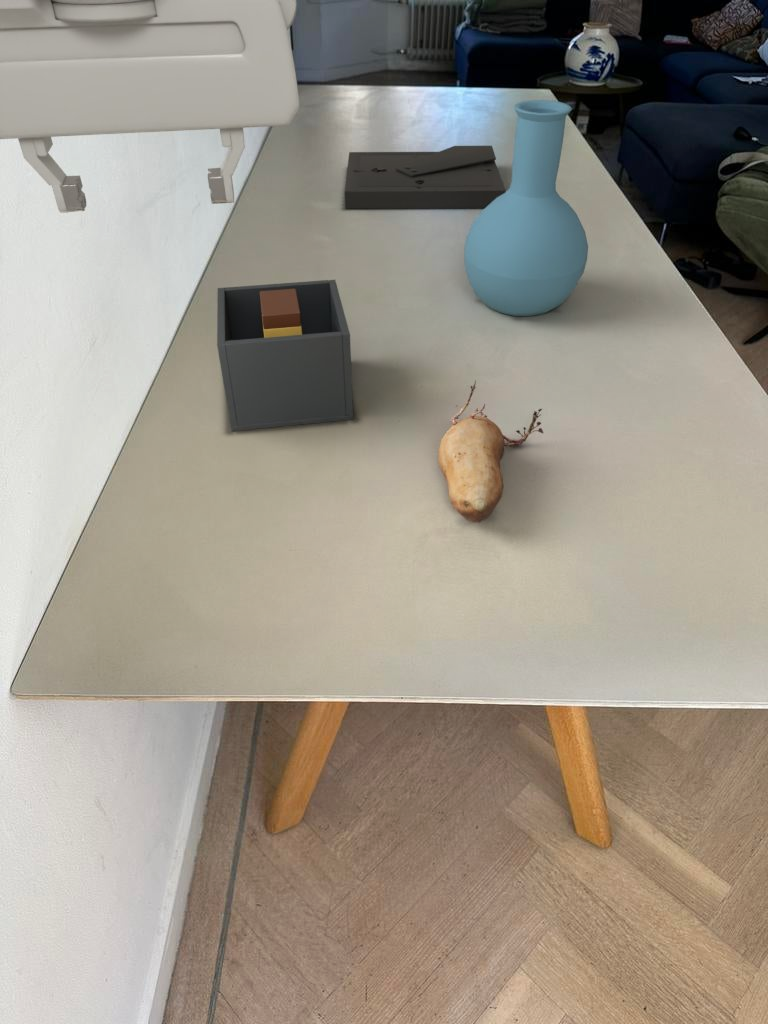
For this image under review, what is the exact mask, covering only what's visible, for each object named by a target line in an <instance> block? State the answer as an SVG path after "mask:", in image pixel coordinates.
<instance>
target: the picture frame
mask: <svg viewBox="0 0 768 1024" xmlns="http://www.w3.org/2000/svg"><path fill="white" fill-rule="evenodd" d="M496 160H497V157H496V154H495V151H494V148H493V145H452V146H450V147H448V148H445V149H443V150H440V151H349V152H348V161H347V169H346V178H345V187H344V203H345V206H344V207H345V210H385V209H386V210H387V209H388V210H389V209H390V210H391V209H392V210H394V209H396V210H397V209H400V210H401V209H402V210H403V209H410V210H411V209H416V210H417V209H422V210H423V209H485V208H486V207H487V206H488V205H489V204H490V203H491V202H493V201H494V200H495V199H496V198H497V197H499V196H500V195H502V194H504V193H505V192H506V191H507V190H506V188H505V185H504V181H503V179H502V177H501V174H500V171H499V168H498V166H497V163H496Z"/></svg>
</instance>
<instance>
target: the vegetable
mask: <svg viewBox="0 0 768 1024" xmlns="http://www.w3.org/2000/svg"><path fill="white" fill-rule="evenodd" d="M476 383H477V380H475V381H474V384H473V385H470V389H471V390H470V393H469V395H468V397H467V400H466V402H465V404H464V406H463V407H461V406H459V405H455V408H459V412H458V413H456V414H455V415H453V416H452V417H451V418H450V422H451V423H452V425H451V427H449V428H448V430H447V431H446V432H445V434H444V435H443V437H442V439H441V440H440V443H439V447H438V451H437V452H438V453H437V461H438V465H439V466H438V467H439V469H440V471H441V473H442V475H443V476H444V479H445V480H446V483H447V489H448V498H449V501H450V504H451V505H452V507H453V509H454V510H455V511H457V513H458V514H459V515H461V516H462V517H463V518H465V519H467V520H469V521H471V522H475V523H481V522H482V521H485V520H486V519H488V518H489V517H490V516H491V514H492V513H493V511H494V509H495V508H496V506H497V505H498V504H499V502H500V501H501V499H502V497H503V493H504V492H503V491H504V488H505V487H504V479H503V474H502V469H501V460H502V459H503V456H504V454H505V448H506V447H510V448H511V447H512V448H514V447H519V446H521V445H522V444H523V443H525V442H526V441H527V439H528V437H529V435H531V434H532V433H534V432H538V433H541V434H544V430H543V428H542V427H539V426H540V425H542V422H541V421H537V420H538V418H539V417H540V416H542V413H541V414H539V413H540V412H542V410H543V408H539V409H537V411H536V410H534V411H533V414H532V421H531V423H530V424H529V427H528V429H527V428H526V427H525V426H523V433H521V431H520V430H519V429H518V430H515V432H516V433H517V434H519V435H520V436H521V438H519V439H513V438H509V437H507V436H506V435H504V434H503V432H502V430H501V428H500V427H499V426H498V424H496V423H495V422H494V421H492V420H491V419H489V418H488V415H486V414H485V413H483V411H484V409H485V406H486V403H484V404H483V406H482V408H481V409H478V408H479V407H477V408H476V410H475V411H474V412H473V413H471V414H470V416H469V417H466V418H463V419H460V420H458V419H459V417H460V416H461V415H462V413H464V411H466V408H467V407H468V406H469V404H470V401H471V398H472V396H473V394H474V392H475V391H474V390H475V389H476V388H477V387H476ZM479 414H480V415H479ZM457 420H458V421H457ZM536 421H537V422H536ZM535 423H536V426H535ZM537 427H539V428H538V429H536V428H537ZM526 430H527V431H526Z"/></svg>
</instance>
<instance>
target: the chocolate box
mask: <svg viewBox="0 0 768 1024" xmlns="http://www.w3.org/2000/svg"><path fill="white" fill-rule="evenodd" d="M260 301H261V311H262V321H263V330H264V338H268V337H280V336H293V335H302V327H301V318H300V310H299V304H298V299H297V294H296V289H283V290H270V291H260Z"/></svg>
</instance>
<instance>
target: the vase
mask: <svg viewBox="0 0 768 1024" xmlns="http://www.w3.org/2000/svg"><path fill="white" fill-rule="evenodd" d="M513 109H514V112H515V113H516V115H517V116H516V122H515V123H516V124H515V130H514V143H513V156H512V168H511V172H512V173H511V181H510V184H509V188H508V189H507V190H506V192H505V193H504V194H502V195H500V196H499V197H497V198H496V199H495V200H494V201H493V202H491V203H490V204H489V205H488V206H487V207H486V208H483V209H482V211H480V212H479V214H478V215H477V216H476V218H475V219H474V221H472V223H471V225H470V227H469V230H468V232H467V234H466V236H465V243H464V248H463V252H464V253H463V254H464V258H463V259H464V269H465V273H466V276H467V281H468V283H469V285H470V287H471V288H472V290H473V292H474V294H475V295H476V297H477V298H478V299H479V300H480V301H482V302H483V303H484V304H485V305H486V306H488V307H489V308H490V309H491V310H493V311H496V312H499V313H501V314H504V315H508V316H512V317H532V316H538V315H543V314H545V313H548V312H549V311H551V310H553V309H555V308H557V307H559V306H561V305H562V304H563V303H564V302H565V301H566V300H567V298H569V296H570V295H571V294H572V293H573V290H574V289H576V286H577V285H578V283H579V281H580V280H581V278H582V276H583V275H584V273H585V269H586V266H587V261H588V254H589V245H588V238H587V234H586V231H585V228H584V226H583V224H582V221H581V219H580V218H579V216H578V214H577V212H576V211H575V210H574V209H573V207H572V206H571V205H570V203H568V202H567V201H566V200H565V199H564V198H562V197H561V196H560V194H559V193H558V192H557V184H556V183H557V178H558V174H559V167H560V161H561V157H562V156H561V155H562V150H563V143H564V137H565V129H566V128H565V126H566V118H567V116H568V115H569V114H570V113H571V111H572V110H573V108H572V107H571V106H570V104H567V103H565V102H562V101H556V100H549V99H531V100H523V101H519V102H517V103H515V104H514V105H513Z"/></svg>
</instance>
